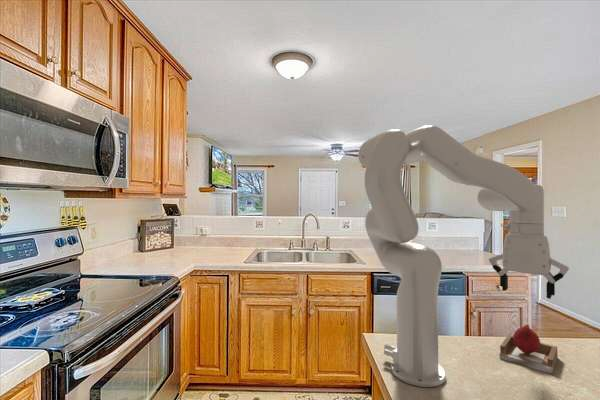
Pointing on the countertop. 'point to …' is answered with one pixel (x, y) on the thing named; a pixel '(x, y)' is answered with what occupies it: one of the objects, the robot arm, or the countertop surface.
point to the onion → (526, 340)
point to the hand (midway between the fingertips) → (526, 293)
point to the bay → (530, 355)
